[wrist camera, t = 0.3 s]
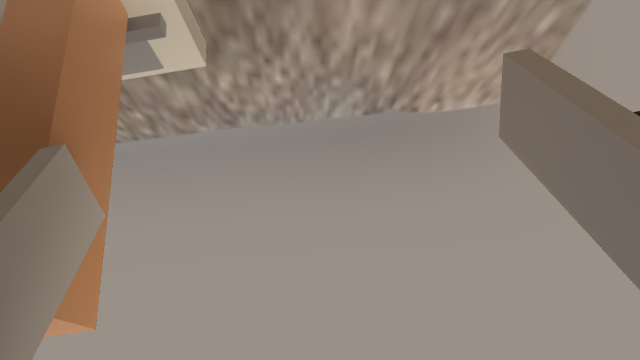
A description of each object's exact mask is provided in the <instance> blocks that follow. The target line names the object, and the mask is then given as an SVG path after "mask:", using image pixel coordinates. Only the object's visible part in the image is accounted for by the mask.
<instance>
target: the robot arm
mask: <svg viewBox="0 0 640 360" xmlns="http://www.w3.org/2000/svg"><path fill="white" fill-rule="evenodd" d="M499 137H500V138H501V139H502V140H503V142H504V143H505V144H506V145H507V146H508V147H509V148H510V149H511V150H512V151H513V152H514V153H515V155H516V156H517V157H518V158H519V159H520V160H521V161H522V162H523V163H524V164H525V165H526V167H527V168H528V169H529V170H530V171H531V172H532V173H533V174H534V175H535V176H536V177H537V179H538V180H539V181H540V182H541V183H542V184H543V185H544V186H545V187H546V188H547V189H548V191H549V192H550V193H551V194H552V195H553V196H554V197H555V198H556V199H557V200H558V201H559V202H560V204H561V205H562V206H563V207H564V208H565V209H566V210H567V211H568V212H569V213H570V214H571V215H572V217H573V218H574V219H575V220H576V221H577V222H578V223H579V224H580V225H581V226H582V228H583V229H584V230H585V231H586V232H587V233H588V234H589V235H590V236H591V237H592V238H593V239H594V241H595V242H596V243H597V244H598V245H599V246H600V247H601V248H602V249H603V250H604V251H605V252H606V253H607V255H608V256H609V257H610V258H611V259H612V260H613V261H614V262H615V263H616V265H617V266H618V267H619V268H620V269H621V270H622V271H623V272H624V273H625V274H626V275H627V277H628V278H629V279H630V280H631V281H632V282H633V283H634V284H635V285H636V286H637V287H638V288H639V289H640V111H637V112H632V111H630V110H628V109H626V108H625V107H623V106H622V105H620V104H618V103H617V102H615V101H614V100H612V99H610V98H609V97H607V96H605V95H604V94H602V93H601V92H599V91H598V90H596V89H594V88H593V87H591V86H589V85H588V84H586V83H585V82H583V81H581V80H580V79H578V78H576V77H575V76H573V75H571V74H570V73H568V72H567V71H565V70H563V69H562V68H560V67H558V66H557V65H555V64H554V63H552V62H551V61H549V60H547V59H546V58H544V57H542V56H541V55H539V54H538V53H536V52H534V51H533V50H531V49H524V50H519V51H514V52H509V53H504V54H503V67H502V87H501V108H500V127H499ZM104 218H105V214H104V212H103V210H102V208H101V207H100V205H99V203H98V201H97V200H96V198H95V196H94V194H93V193H92V191H91V189H90V187H89V186H88V184H87V182H86V180H85V179H84V177H83V175H82V173H81V172H80V170H79V168H78V166H77V165H76V163H75V161H74V159H73V157H72V156H71V154H70V152H69V150H68V149H67V147H66V145H65V144H61V145H56V146H51V147H46V148H41V149H39V150H38V151H37V152H36V153H35V155H34V156H33V157H32V158H31V159H30V160H29V161H28V162H27V164H26V165H25V166H24V167H23V168H22V169H21V170H20V171H19V172H18V174H17V175H16V176H15V177H14V178H13V179H12V180H11V181H10V182H9V184H8V185H7V186H6V187H5V188H4V189H3V190H2V191H1V193H0V360H32V359H33V357H34V355H35V353H36V351H37V349H38V347H39V345H40V343H41V341H42V339H43V337H44V335H45V333H46V331H47V329H48V327H49V325H50V324H51V322H52V320H53V318H54V316H55V314H56V312H57V310H58V308H59V306H60V304H61V302H62V300H63V298H64V296H65V294H66V292H67V290H68V288H69V286H70V284H71V282H72V280H73V278H74V277H75V275H76V273H77V271H78V269H79V267H80V265H81V263H82V261H83V259H84V257H85V255H86V253H87V251H88V249H89V247H90V245H91V243H92V241H93V239H94V237H95V235H96V233H97V231H98V230H99V228H100V226H101V224H102V222H103V220H104Z"/></svg>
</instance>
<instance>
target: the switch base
mask: <svg viewBox="0 0 640 360" xmlns="http://www.w3.org/2000/svg"><path fill="white" fill-rule="evenodd" d="M120 1H121V3H122V5H123V6H124V8H125V9H126V11H127V13H128V22H127V32H126V41H125V51H124V61H123V70H122V80H126V79H132V78H138V77H144V76H150V75H156V74H162V73H168V72H174V71H180V70H186V69H192V68H198V67H204V66H206V41H205V39H204V37H203V35H202V33H201V30H200V28H199V26H198V24H197V22H196V19H195V17H194V15H193V13H192V11H191V8H190V6H189V4H188V2H187V0H120ZM6 3H7V0H0V25H1V21H2V17H3V14H4V10H5V7H6Z"/></svg>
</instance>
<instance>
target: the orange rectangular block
mask: <svg viewBox="0 0 640 360" xmlns="http://www.w3.org/2000/svg"><path fill="white" fill-rule="evenodd" d="M127 22H128V13H127V11H126V9H125V8H124V6H123V5H122V3H121V1H120V0H7V3H6V7H5V10H4V14H3V17H2V21H1V25H0V193H1V191H2V190H3V189H4V188H5V187H6V186H7V185H8V184H9V182H10V181H11V180H12V179H13V178H14V177H15V176H16V175H17V174H18V172H19V171H20V170H21V169H22V168H23V167H24V166H25V165H26V164H27V162H28V161H29V160H30V159H31V158H32V157H33V156H34V155H35V153H36V152H37V151H38V150H39V149H41V148H46V147H51V146H56V145H61V144H65V145H66V147H67V149H68V150H69V152H70V154H71V156H72V157H73V159H74V161H75V163H76V165H77V166H78V168H79V170H80V172H81V173H82V175H83V177H84V179H85V180H86V182H87V184H88V186H89V187H90V189H91V191H92V193H93V194H94V196H95V198H96V200H97V201H98V203H99V205H100V207H101V208H102V210H103V212H104V214H105V218H104V220H103V222H102V224H101V226H100V228H99V230H98V231H97V233H96V235H95V237H94V239H93V241H92V243H91V245H90V247H89V249H88V251H87V253H86V255H85V257H84V259H83V261H82V263H81V265H80V267H79V269H78V271H77V273H76V275H75V277H74V278H73V280H72V282H71V284H70V286H69V288H68V290H67V292H66V294H65V296H64V298H63V300H62V302H61V304H60V306H59V308H58V310H57V312H56V314H55V316H54V318H53V320H52V322H51V324H50V325H49V327H48V329H47V331H46V333H45V335H44V337H49V336H56V335H63V334H70V333H76V332H83V331H90V330H96V321H97V312H98V303H99V293H100V283H101V274H102V264H103V254H104V245H105V235H106V225H107V215H108V206H109V196H110V187H111V186H110V185H111V176H112V167H113V157H114V148H115V138H116V129H117V119H118V109H119V100H120V90H121V80H122V70H123V61H124V51H125V41H126V32H127Z"/></svg>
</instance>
